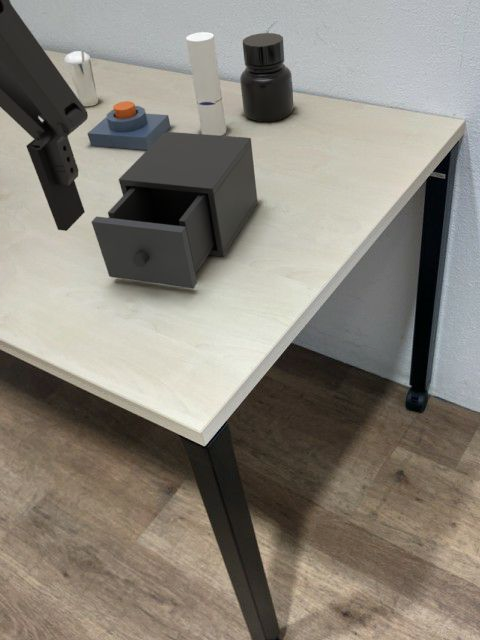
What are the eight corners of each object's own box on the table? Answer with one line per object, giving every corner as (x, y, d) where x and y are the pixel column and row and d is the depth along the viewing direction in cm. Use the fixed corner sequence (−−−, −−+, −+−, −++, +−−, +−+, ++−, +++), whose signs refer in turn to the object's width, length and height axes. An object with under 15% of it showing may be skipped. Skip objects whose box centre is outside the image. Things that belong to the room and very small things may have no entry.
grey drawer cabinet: (223, 256, 78) (212, 188, 71) (136, 245, 82) (118, 179, 75) (257, 202, 87) (251, 137, 80) (178, 194, 90) (164, 131, 84)
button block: (90, 145, 104) (84, 122, 102) (115, 123, 110) (110, 101, 107) (148, 150, 102) (142, 126, 99) (170, 127, 107) (166, 104, 105)
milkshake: (87, 111, 115) (71, 54, 108) (73, 104, 118) (56, 48, 111) (108, 103, 117) (93, 47, 110) (94, 96, 120) (78, 41, 113)
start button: (111, 119, 103) (109, 109, 101) (121, 110, 105) (119, 100, 104) (130, 120, 102) (128, 110, 100) (140, 112, 104) (138, 101, 103)
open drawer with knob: (189, 295, 72) (176, 238, 66) (104, 282, 75) (85, 227, 69) (230, 232, 81) (222, 177, 75) (153, 223, 84) (140, 169, 78)
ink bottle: (303, 106, 110) (300, 33, 101) (281, 126, 105) (276, 51, 96) (257, 99, 113) (250, 28, 105) (233, 118, 108) (223, 45, 100)
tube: (218, 124, 107) (204, 30, 96) (231, 131, 104) (218, 36, 94) (197, 131, 105) (181, 37, 95) (210, 139, 103) (195, 43, 92)
